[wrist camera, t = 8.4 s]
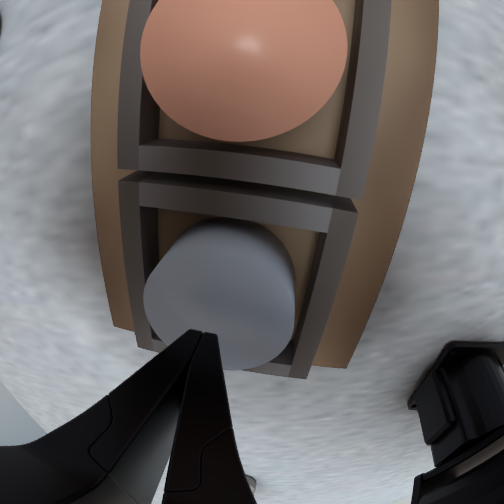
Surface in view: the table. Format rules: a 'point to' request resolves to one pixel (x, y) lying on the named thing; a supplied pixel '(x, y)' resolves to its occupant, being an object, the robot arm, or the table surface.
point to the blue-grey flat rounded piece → (225, 290)
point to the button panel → (269, 175)
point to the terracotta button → (243, 63)
